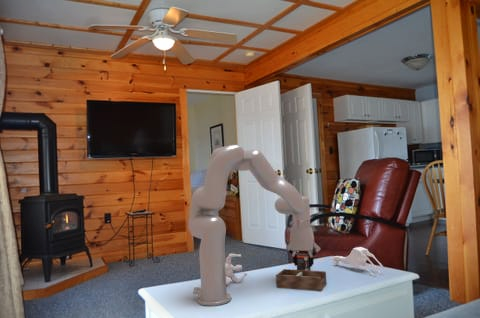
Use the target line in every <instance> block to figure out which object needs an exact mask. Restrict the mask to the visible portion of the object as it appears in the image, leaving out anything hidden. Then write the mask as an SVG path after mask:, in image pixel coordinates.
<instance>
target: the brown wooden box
mask: <svg viewBox="0 0 480 318" xmlns="http://www.w3.org/2000/svg"><path fill="white" fill-rule="evenodd" d="M300 272H302V274H303V276H296V275H297V274H298V273H300ZM275 281H276V289H287V290H288V289H290V290H301V291H302V290H303V291H315V292H322V291H323V290H324V289H325V286H326V285H327V272H326V271H324V270H323V271H321V270H311V271H308V270H297V269H287V268H286V269H285V268H284V269H282V270H281V271H279V272H278V273H276V275H275Z"/></svg>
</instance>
